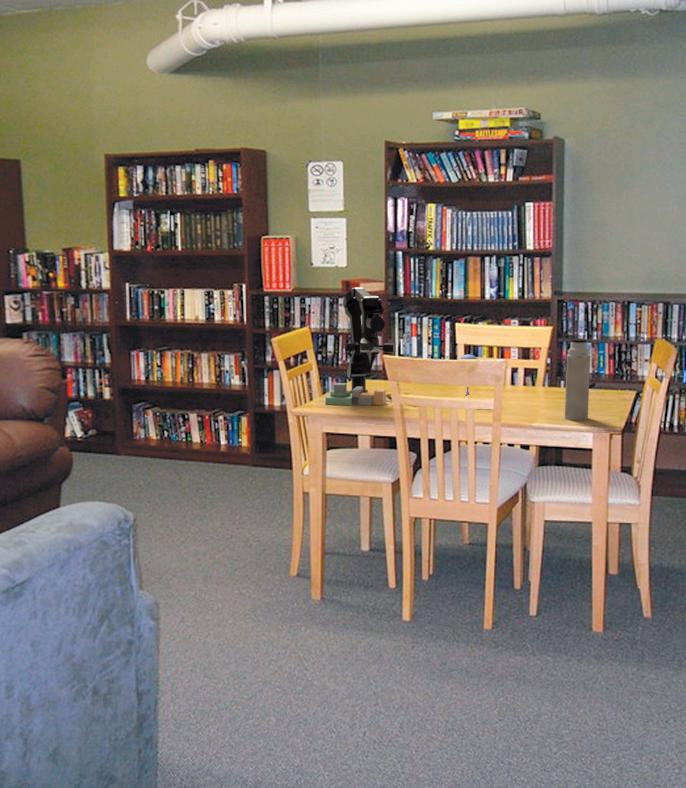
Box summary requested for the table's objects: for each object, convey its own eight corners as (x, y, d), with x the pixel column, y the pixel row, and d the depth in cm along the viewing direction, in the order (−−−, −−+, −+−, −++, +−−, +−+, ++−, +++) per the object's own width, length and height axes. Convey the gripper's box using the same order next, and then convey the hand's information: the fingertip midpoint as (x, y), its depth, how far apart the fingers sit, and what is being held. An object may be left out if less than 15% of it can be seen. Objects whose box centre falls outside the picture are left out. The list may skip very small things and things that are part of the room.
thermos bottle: (562, 416, 380) (564, 337, 375) (584, 415, 381) (587, 337, 376) (567, 420, 373) (570, 340, 368) (590, 420, 373) (593, 340, 368)
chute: (356, 401, 411) (356, 388, 410) (385, 402, 408) (386, 389, 408) (353, 403, 405) (353, 390, 404) (383, 405, 403) (383, 391, 402)
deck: (332, 399, 416) (332, 381, 414) (376, 400, 412) (376, 382, 410) (325, 404, 405) (325, 385, 404) (370, 405, 401) (370, 387, 400)
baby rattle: (462, 398, 416) (463, 352, 413) (482, 400, 412) (483, 353, 409) (452, 401, 409) (453, 355, 406) (473, 403, 405) (474, 356, 401)
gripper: (341, 330, 402) (342, 371, 405) (390, 332, 398) (390, 373, 401) (348, 327, 413) (348, 367, 416) (395, 328, 409) (395, 368, 412)
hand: (370, 369), depth 411 cm, fingers closed
